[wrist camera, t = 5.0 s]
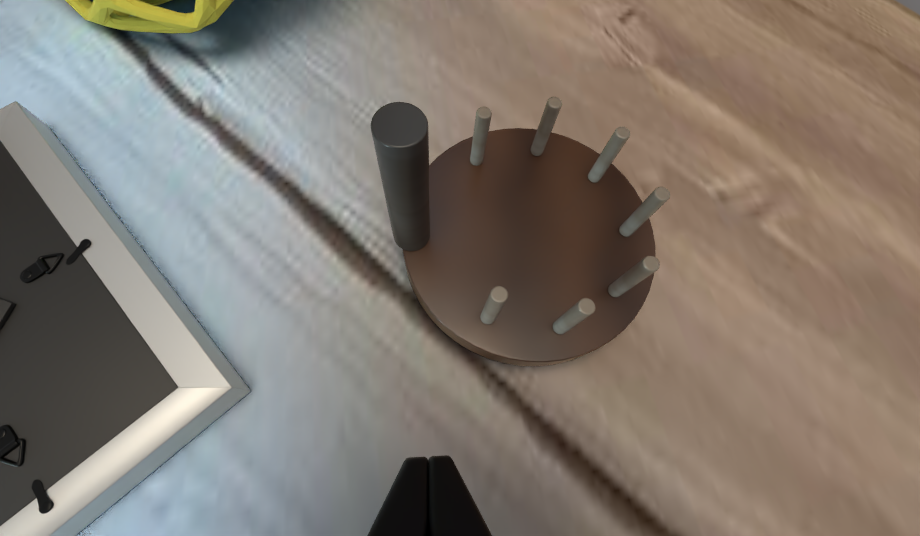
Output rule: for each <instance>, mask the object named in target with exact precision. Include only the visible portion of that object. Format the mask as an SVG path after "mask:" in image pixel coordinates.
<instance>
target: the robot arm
mask: <svg viewBox="0 0 920 536" xmlns="http://www.w3.org/2000/svg"><path fill="white" fill-rule="evenodd" d="M368 536H492V535H491V533H490V531H489V529H488V527H487V525H486V523H485V521H484V519H483V517H482V515H481V514H480V512H479V510H478V508H477V506H476V504H475V502H474V500H473V498H472V496H471V494H470V492H469V491H468V489H467V487H466V485H465V483H464V481H463V479H462V477H461V475H460V473H459V471H458V469H457V468H456V466H455V464H454V462H453V460H452V458H451V457H450V456H432V457H430V458H429V460H428V459H427V458H426V457H410V458H407V459H406V460H405V461H404V463H403V465H402V467H401V469H400V471H399V473H398V475H397V477H396V479H395V481H394V483H393V485H392V487H391V489H390V491H389V493H388V495H387V497H386V499H385V501H384V503H383V505H382V507H381V509H380V511H379V513H378V515H377V517H376V519H375V521H374V523H373V525H372V527H371V529H370V531H369V533H368Z"/></svg>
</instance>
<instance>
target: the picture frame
mask: <svg viewBox="0 0 920 536" xmlns="http://www.w3.org/2000/svg"><path fill="white" fill-rule="evenodd" d="M249 392H251V390H250V389H249V388H248V386H247V385H246V384H245V382H244V381H243V380H242V379H241V377H240V376H239V375H238V373H237V372H236V371H235V369H234V368H233V367H232V365H231V364H230V363H229V362H228V360H227V359H226V358H225V356H224V355H223V354H222V352H221V351H220V350H219V349H218V347H217V346H216V345H215V343H214V342H213V341H212V339H211V338H210V337H209V335H208V334H207V333H206V332H205V330H204V329H203V328H202V326H201V325H200V324H199V322H198V321H197V320H196V319H195V317H194V316H193V315H192V313H191V312H190V311H189V309H188V308H187V307H186V305H185V304H184V303H183V302H182V300H181V299H180V298H179V296H178V295H177V294H176V292H175V291H174V290H173V289H172V287H171V286H170V285H169V283H168V282H167V281H166V279H165V278H164V277H163V275H162V274H161V273H160V272H159V270H158V269H157V268H156V266H155V265H154V264H153V262H152V261H151V260H150V258H149V257H148V256H147V255H146V253H145V252H144V251H143V249H142V248H141V247H140V245H139V244H138V243H137V242H136V240H135V239H134V238H133V236H132V235H131V234H130V232H129V231H128V230H127V228H126V227H125V226H124V225H123V223H122V222H121V221H120V219H119V218H118V217H117V215H116V214H115V213H114V212H113V210H112V209H111V208H110V206H109V205H108V204H107V202H106V201H105V200H104V198H103V197H102V196H101V195H100V193H99V192H98V191H97V189H96V188H95V187H94V185H93V184H92V183H91V182H90V180H89V179H88V178H87V176H86V175H85V174H84V172H83V171H82V170H81V168H80V167H79V166H78V165H77V163H76V162H75V161H74V159H73V158H72V157H71V155H70V154H69V153H68V152H67V150H66V149H65V148H64V146H63V145H62V144H61V142H60V141H59V140H58V138H57V137H56V136H55V135H54V133H53V132H52V131H51V129H50V128H49V127H48V125H46V124H45V123H44V122H42V121H41V120H40V119H39V118H37V117H36V116H35V115H33V114H32V113H31V112H30V111H28V110H27V109H26V108H24V107H23V106H22V105H20V104H19V103H18V102H16V101H15V102H13V103H11V104H9V105H7V106H5V107H3V108H1V109H0V536H76V535H77V534H78V533H79V532H81V531H82V530H83V529H84V528H85V527H87V526H88V525H89V524H90V523H92V522H93V521H94V520H95V519H96V518H98V517H99V516H100V515H101V514H102V513H104V512H105V511H106V510H107V509H109V508H110V507H111V506H112V505H113V504H115V503H116V502H117V501H118V500H119V499H121V498H122V497H123V496H124V495H126V494H127V493H128V492H129V491H130V490H132V489H133V488H134V487H135V486H136V485H138V484H139V483H140V482H141V481H143V480H144V479H145V478H146V477H147V476H149V475H150V474H151V473H152V472H153V471H155V470H156V469H157V468H158V467H159V466H161V465H162V464H163V463H164V462H166V461H167V460H168V459H169V458H170V457H172V456H173V455H174V454H175V453H176V452H178V451H179V450H180V449H181V448H183V447H184V446H185V445H186V444H187V443H189V442H190V441H191V440H192V439H193V438H195V437H196V436H197V435H198V434H200V433H201V432H202V431H203V430H204V429H206V428H207V427H208V426H209V425H210V424H212V423H213V422H214V421H215V420H217V419H218V418H219V417H220V416H221V415H223V414H224V413H225V412H226V411H227V410H229V409H230V408H231V407H232V406H234V405H235V404H236V403H237V402H238V401H240V400H241V399H242V398H243V397H244V396H246V395H247V394H248V393H249Z"/></svg>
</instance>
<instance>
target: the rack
mask: <svg viewBox="0 0 920 536" xmlns="http://www.w3.org/2000/svg"><path fill="white" fill-rule="evenodd" d="M561 106H562V101H561V100H560V99H559V98H558V97H551V98H549V99H548V101H547V104H546V107H545V109H544V112H543V115H542V118H541V121H540V124H539V126H538V129H537V130H535V129H522V128H515V129H501V130H495V131H489V126H490V120H491V115H492V113H491V110H490V109H489V108H487V107H480V108H479V109H478V110H477V112H476V119H475V126H474V134H473V137H470V138H468V139H466V140H463V141H461V142H459V143H458V144H456V145H454V146H453V147H451V148H449V149H448V150H446V151H445V152H444V153H443V154H441V155H440V156H439V157H437V158H436V159H435V160H434V161H433V162H432V163H431V164H430V165H429V147H428V121H427V118H426V116H425V115H424V113H423V112H422V111H421V110H420V109H419V108H417V107H416V106H414V105H412V104H409V103H404V102H394V103H390V104H387V105H385V106H383V107H381V108H380V109H379V110H378V111H377V112H376V113H375V114H374V116H373V118H372V121H371V131H372V136H373V140H374V145H375V150H376V155H377V160H378V164H379V169H380V174H381V179H382V184H383V188H384V193H385V198H386V203H387V207H388V212H389V217H390V222H391V227H392V231H393V236H394V240H395V242H396V244H397V245H398V246H399V247H400V248H402V249H403V254H404V260H405V265H406V270H407V274H408V278H409V280H410V283H411V286H412V288H413V291H414V293H415V295H416V297H417V299H418V300H419V302H420V304H421V306H422V307H423V309H424V310H425V311H426V313H427V314H428V316H429V317H430V318H431V319H432V320H433V322H434V323H435V324H436V325H437V326H438V327H439V328H440V329H441V330H442V331H443V332H444V333H446V334H447V335H448V336H449V337H451V338H452V339H453V340H454V341H456V342H457V343H459V344H460V345H462V346H464V347H465V348H467V349H468V350H470V351H472V352H474V353H477V354H479V355H481V356H483V357H485V358H488V359H492V360H495V361H498V362H502V363H506V364H512V365H519V366H546V365H555V364H559V363H563V362H567V361H571V360H573V359H576V358H578V357H581V356H583V355H585V354H588V353H590V352H592V351H594V350H596V349H598V348H600V347H601V346H603V345H605V344H606V343H608V342H610V341H611V340H612V339H614V338H615V337H616V336H617V335H618V334H620V333H621V332H622V331H623V330H624V329H625V328H626V327H627V326H628V325H629V324H630V323H631V321H632V320H633V319H634V318H635V316H636V315H637V313H638V312H639V310H640V309H641V307H642V306H643V304H644V302H645V299H646V297H647V295H648V293H649V290H650V287H651V283H652V279H653V276H654V272H655V271H657V270H658V269H659V266H660V264H659V261H658V259H657V258H655V242H654V235H653V230H652V226H651V223H650V220H649V218H650V217H651V216H652V215H653V214H654V213H655V212H656V211H657V210H658V209H659V208H660V207H661V206H662V205H663V204H664V203H665V202H666V201H667V200H668V199H669V198H670V192H669V191H668V189H666V188H664V187H658V188H656V189H655V190H654V191H653V192H652V193H651V194H650V195H649V196H648V198H647V199H646V200H645V201H644V202H643V203H642V201H641V199H640V198H639V196H638V194H637V192H636V191H635V189H634V188H633V187H632V185H631V184H630V183H629V181H628V180H627V179H626V177H625V176H624V175H623V174H622V173H621V172H620V171H619V170H618V169H617V168H616V167H615V166H614V165H613V164H611V163H612V162H613V160H614V159H615V157H616V156H617V154H618V153H619V151H620V150H621V148H622V147H623V145H624V144H625V143H626V141H627V140H628V138H629V137H630V131H629V130H628V129H627V128H625V127H618V128H617V129H616V130H615V132H614V133H613V135H612V136H611V138H610V140H609V141H608V143H607V145H606V146H605V148H604V149H603V151H602V153H601V154H598V153H597V152H595V151H594V150H592V149H591V148H589V147H587V146H585V145H583V144H581V143H579V142H577V141H575V140H573V139H570V138H568V137H565V136H562V135H559V134H555V133H551V131H552V129H553V126H554V124H555V121H556V119H557V116H558V114H559V111H560V109H561ZM488 131H489V132H488Z"/></svg>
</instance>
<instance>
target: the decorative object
mask: <svg viewBox="0 0 920 536" xmlns="http://www.w3.org/2000/svg"><path fill="white" fill-rule="evenodd" d="M65 1H66V2H67V3H68V4H69V5H71V6H72V7H73V8H74V9H75V10H76V11H77V12H78V13H79V14H80V15H81V16H82V17H83V18H84V19H85V20H88V21H91V22H94V23H97V24H100V25H103V26H107V27H111V28H115V29H119V30H127V31H138V32H155V33H192V32H195V31H199V30H201V29H202V28H203V27H206V26H208V25H210V24H212V23H214V22H216V21H217V19H218V18H219V17H220V16H221V15H222V14H223V13H224V11H225V10H226V9H227V8H228V7H229V5H230V4H231V3H232V2H233V0H196V2H195V11H194V12H192V13H179V12H175V11H172V10H168V9H165V8H161V7H158V6H157V5H160V4H163V3H166V2H168V1H171V0H93V2H91V1H90V0H65ZM130 15H133V16H130ZM134 16H136V17H134Z"/></svg>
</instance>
